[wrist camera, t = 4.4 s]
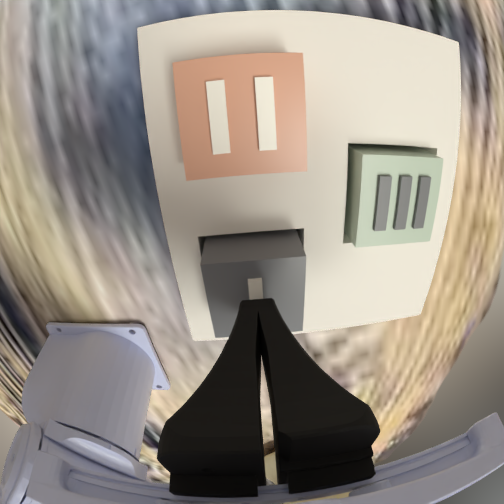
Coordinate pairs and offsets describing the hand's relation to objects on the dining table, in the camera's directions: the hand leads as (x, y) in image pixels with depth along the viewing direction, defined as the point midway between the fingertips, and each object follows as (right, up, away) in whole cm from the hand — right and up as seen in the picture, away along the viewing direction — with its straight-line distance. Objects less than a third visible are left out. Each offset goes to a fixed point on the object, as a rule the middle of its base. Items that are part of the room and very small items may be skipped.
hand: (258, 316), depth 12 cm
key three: (+6, +7, +2) cm, 10 cm away
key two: (-1, +9, -1) cm, 9 cm away
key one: (0, +2, +4) cm, 4 cm away
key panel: (+3, +6, +3) cm, 8 cm away
